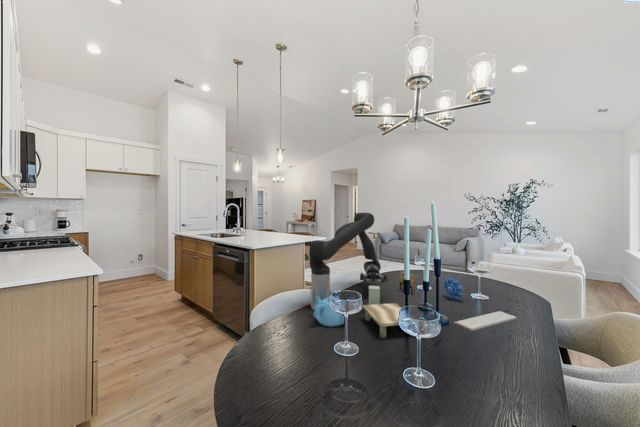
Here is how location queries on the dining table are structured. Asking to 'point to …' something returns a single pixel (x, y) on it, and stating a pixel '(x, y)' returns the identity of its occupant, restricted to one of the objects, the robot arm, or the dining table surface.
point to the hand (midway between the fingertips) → (373, 280)
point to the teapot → (327, 313)
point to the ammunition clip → (410, 282)
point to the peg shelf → (382, 315)
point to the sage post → (374, 295)
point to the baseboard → (485, 320)
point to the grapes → (453, 288)
